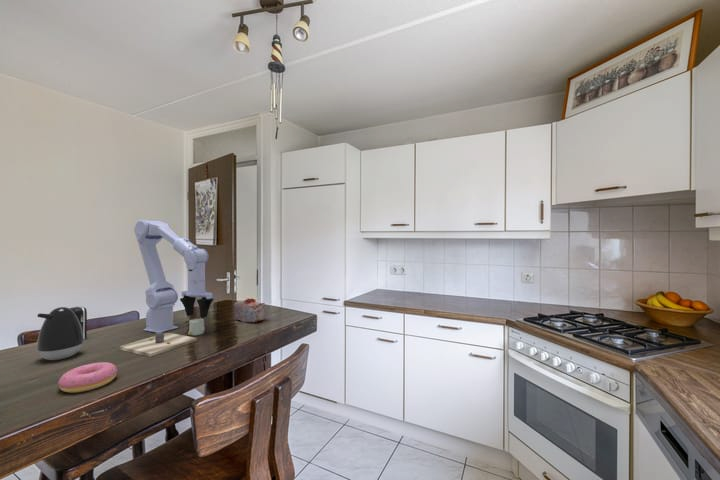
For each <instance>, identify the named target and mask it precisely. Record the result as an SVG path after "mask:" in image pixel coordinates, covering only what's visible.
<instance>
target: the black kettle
mask: <svg viewBox="0 0 720 480" xmlns="http://www.w3.org/2000/svg"><path fill="white" fill-rule="evenodd" d="M70 308H71V307H66V306H61V307H57V308H54V309H53V310H51V311H50V312H49V313H38V314H37V318H41V319H45V320H44V321H43V323H42V325H41V328H40V330H39V333H38V337H37V342H36V351H38V354H39V355H40V357H42V358H43V359H45V360H47V361H59V360H60V361H61V360H63V359H68V358H70V357H73V356H75V355H76V354H77V353H78V352H79V351H80V350H81V347H82V345H83V343H84V342H85V339H84V337H83V331H82V327H81V324H80V322H79V320H78V318H77V316H76V314H75V313H74V312H73V311H72V310H71V309H70Z"/></svg>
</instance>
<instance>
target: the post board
mask: <svg viewBox="0 0 720 480" xmlns="http://www.w3.org/2000/svg"><path fill="white" fill-rule="evenodd" d="M195 342H198V337H194V336H190V335H189V336H188V335H183V334H178V333H172V332H165V331H164V332H159V333H156V332H155V335H154V336H150V337H146V338H144V339H141V340H136V341H133V342H130V343H126V344H122V345H119V346H118V350H120V351H125V352H128V353H133V354H137V355H141V356H144V357H149V358H151V357H153V356H156V355H160V354H163V353H166V352H168V351H172V350H175V349H177V348H181V347H184V346H186V345H190V344H192V343H195Z"/></svg>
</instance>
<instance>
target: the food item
mask: <svg viewBox="0 0 720 480" xmlns="http://www.w3.org/2000/svg"><path fill="white" fill-rule="evenodd" d="M265 304H266V303H265V302H257V300H256V298H255V299H254V298H246V299H245V300H238V301H236V302H234V304H233V320H234V321H238V320H240V321H239V322H242V321H243V322H242V323H251V322H253V324H255V323H254V322H256V323H258V322H257V321H260V322H262V321H261V320H263V321H265V320H264V319H265V307H266V306H265Z"/></svg>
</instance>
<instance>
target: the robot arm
mask: <svg viewBox="0 0 720 480" xmlns="http://www.w3.org/2000/svg"><path fill="white" fill-rule="evenodd" d="M133 230H134V233H135V238H136V241H137V243H138V247H139V250H140V254H141V257H142V261H143V264H144V266H145V270H146V274H147V278H148V281H149V284H150V286H149V287H148V288H147V289H145V292H144V293H145V303H146V305H147V307H148V310H147V311H146V312H145V326H146V327H145V328H143V331H144V332H145V331H146V332H152V333H155V334H156V333H159V332H164V333H165V332H167V331H172V330H175V329H178V328H179V326H177V325H174V306H176V305H175V304H176V303H177V301H178V299H179V294H178V291H177V290H176V289H175V287H174V285H173V284H172V283H170V282H168V281H167V279H166V275H165V272H164V269H163V265H162V262H161V259H160V255H159V253H158V249H157V244H158V243H160V242H161V241H162V239H164V240H166V241H167V242H169V243H170V244H172V247H173V250H174V251H176V252H177V253H178V254H179V255H181V256H182V257H183V261H184V263H185V265H186V268H187V290H185V291H184V290H183V291H181V298H180V299H179V301H180V302H181V304H182V305H183V307H184V310H185V314H186V316H187V317H189V316H190V317H191V316H194V310H195V308H194V307H195V303H196V301H197V304H198V307H199V316H200V319H204V318H207V317H208V315H209V314H208V313H209V310H210V307H211V305H212V302H214V298H213V292H208V291H206V263H207V262H208V261H209V253H208V251H207V250H206V249H205V248H199V247H198V245H195V244H194V243H192V242H191V241H190V239H189V238H186V237H180V236H178V234H177V233H175V231H174V230H172V228H170V225H169V224H168V223H166V221H164V220H146V219H139V220H138V221H137V222H136V224H135V226H134V228H133ZM197 298H198V299H197Z"/></svg>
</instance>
